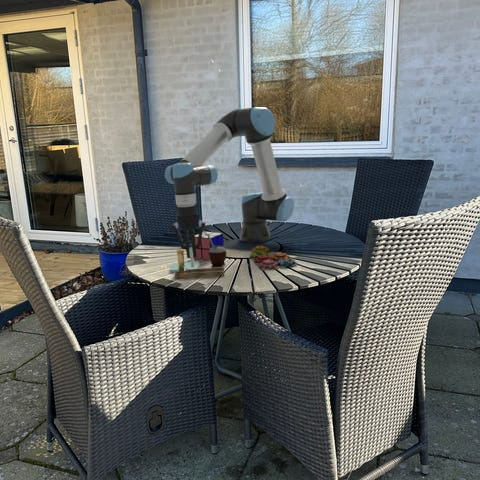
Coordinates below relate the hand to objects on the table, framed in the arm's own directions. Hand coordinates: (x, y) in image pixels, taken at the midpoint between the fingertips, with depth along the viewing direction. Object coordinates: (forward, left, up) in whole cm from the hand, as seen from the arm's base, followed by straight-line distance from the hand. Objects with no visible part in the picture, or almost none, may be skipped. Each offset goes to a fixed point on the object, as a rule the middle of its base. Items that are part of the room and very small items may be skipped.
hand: (192, 265), depth 174 cm
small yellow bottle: (+4, 0, -3) cm, 5 cm away
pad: (+4, -10, -4) cm, 12 cm away
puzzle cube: (-5, -26, -4) cm, 27 cm away
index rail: (-3, 0, -4) cm, 5 cm away
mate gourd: (-9, -11, -4) cm, 15 cm away
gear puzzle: (-31, -18, -5) cm, 36 cm away
